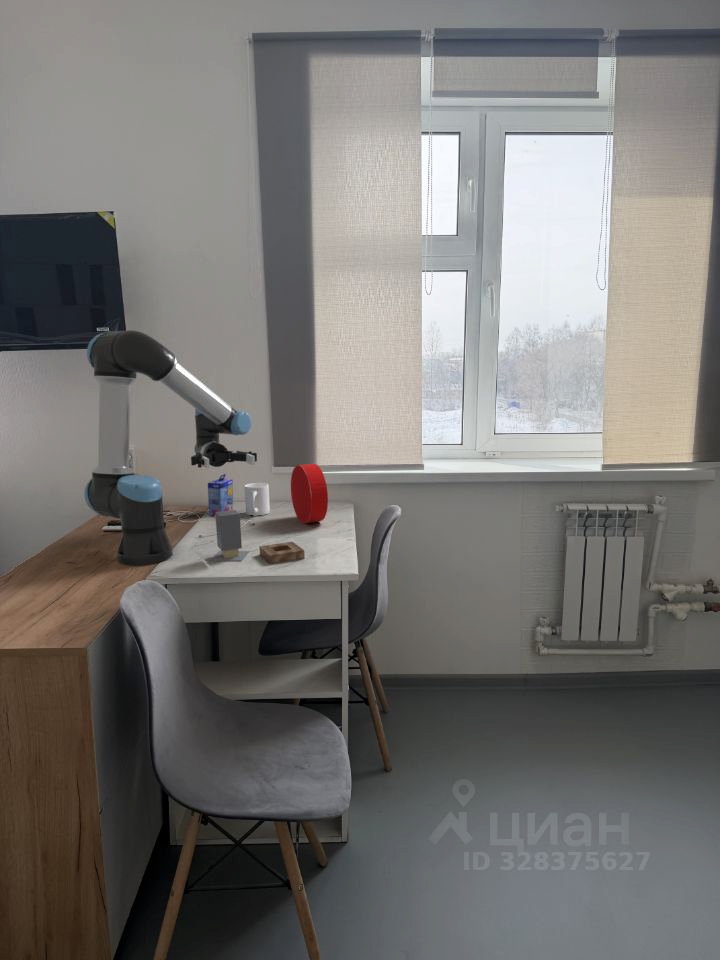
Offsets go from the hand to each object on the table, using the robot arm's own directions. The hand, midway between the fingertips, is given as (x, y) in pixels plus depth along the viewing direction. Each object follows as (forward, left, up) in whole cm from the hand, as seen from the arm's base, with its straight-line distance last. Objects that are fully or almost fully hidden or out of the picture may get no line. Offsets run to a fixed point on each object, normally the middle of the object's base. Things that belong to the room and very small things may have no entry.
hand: (231, 462), depth 196 cm
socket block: (+17, -12, -26) cm, 33 cm away
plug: (+1, -11, -25) cm, 28 cm away
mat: (+2, -12, -26) cm, 28 cm away
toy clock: (+18, +30, -26) cm, 44 cm away
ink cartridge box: (-17, +43, -26) cm, 54 cm away
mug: (-3, +40, -26) cm, 48 cm away
